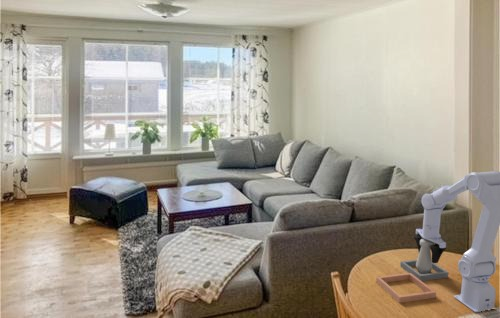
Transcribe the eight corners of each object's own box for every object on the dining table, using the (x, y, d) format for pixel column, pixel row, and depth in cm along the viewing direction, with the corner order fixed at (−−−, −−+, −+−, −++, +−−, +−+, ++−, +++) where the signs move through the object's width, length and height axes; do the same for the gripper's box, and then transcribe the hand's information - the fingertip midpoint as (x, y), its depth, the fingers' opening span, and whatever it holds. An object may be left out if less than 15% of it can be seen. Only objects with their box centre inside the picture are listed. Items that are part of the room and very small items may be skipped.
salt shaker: (428, 268, 148) (431, 237, 146) (434, 275, 143) (437, 243, 140) (413, 267, 149) (415, 236, 147) (418, 274, 143) (420, 242, 141)
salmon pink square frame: (435, 297, 128) (436, 292, 128) (398, 302, 125) (399, 297, 125) (409, 277, 141) (410, 272, 141) (376, 281, 138) (376, 276, 138)
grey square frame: (448, 277, 142) (448, 272, 141) (419, 281, 139) (420, 276, 139) (426, 263, 153) (427, 258, 153) (400, 266, 150) (400, 261, 150)
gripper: (454, 230, 137) (450, 265, 139) (427, 217, 151) (424, 249, 153) (437, 232, 135) (434, 267, 138) (412, 218, 149) (409, 251, 152)
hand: (428, 258), depth 145 cm, fingers open, 7 cm apart
